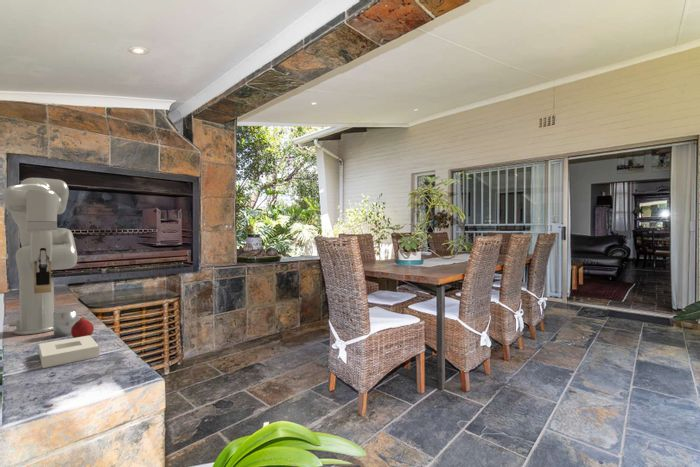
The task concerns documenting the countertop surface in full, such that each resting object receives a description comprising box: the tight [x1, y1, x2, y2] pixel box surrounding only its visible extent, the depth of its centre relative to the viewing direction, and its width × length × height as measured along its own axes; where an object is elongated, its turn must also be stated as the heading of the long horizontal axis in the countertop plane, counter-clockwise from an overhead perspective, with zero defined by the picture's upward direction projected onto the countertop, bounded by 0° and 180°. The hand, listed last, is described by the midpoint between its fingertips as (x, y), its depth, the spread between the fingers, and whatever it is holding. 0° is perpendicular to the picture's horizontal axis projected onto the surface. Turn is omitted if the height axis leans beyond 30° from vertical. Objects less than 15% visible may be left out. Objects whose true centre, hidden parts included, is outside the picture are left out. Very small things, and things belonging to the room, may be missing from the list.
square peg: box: [34, 261, 52, 294], centre depth 113 cm, size 4×4×10 cm
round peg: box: [53, 309, 79, 338], centre depth 123 cm, size 7×7×8 cm
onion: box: [71, 316, 95, 338], centre depth 114 cm, size 6×6×8 cm
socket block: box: [38, 335, 100, 369], centre depth 100 cm, size 16×12×3 cm
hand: (42, 283), depth 113 cm, fingers closed on square peg, 4 cm apart
